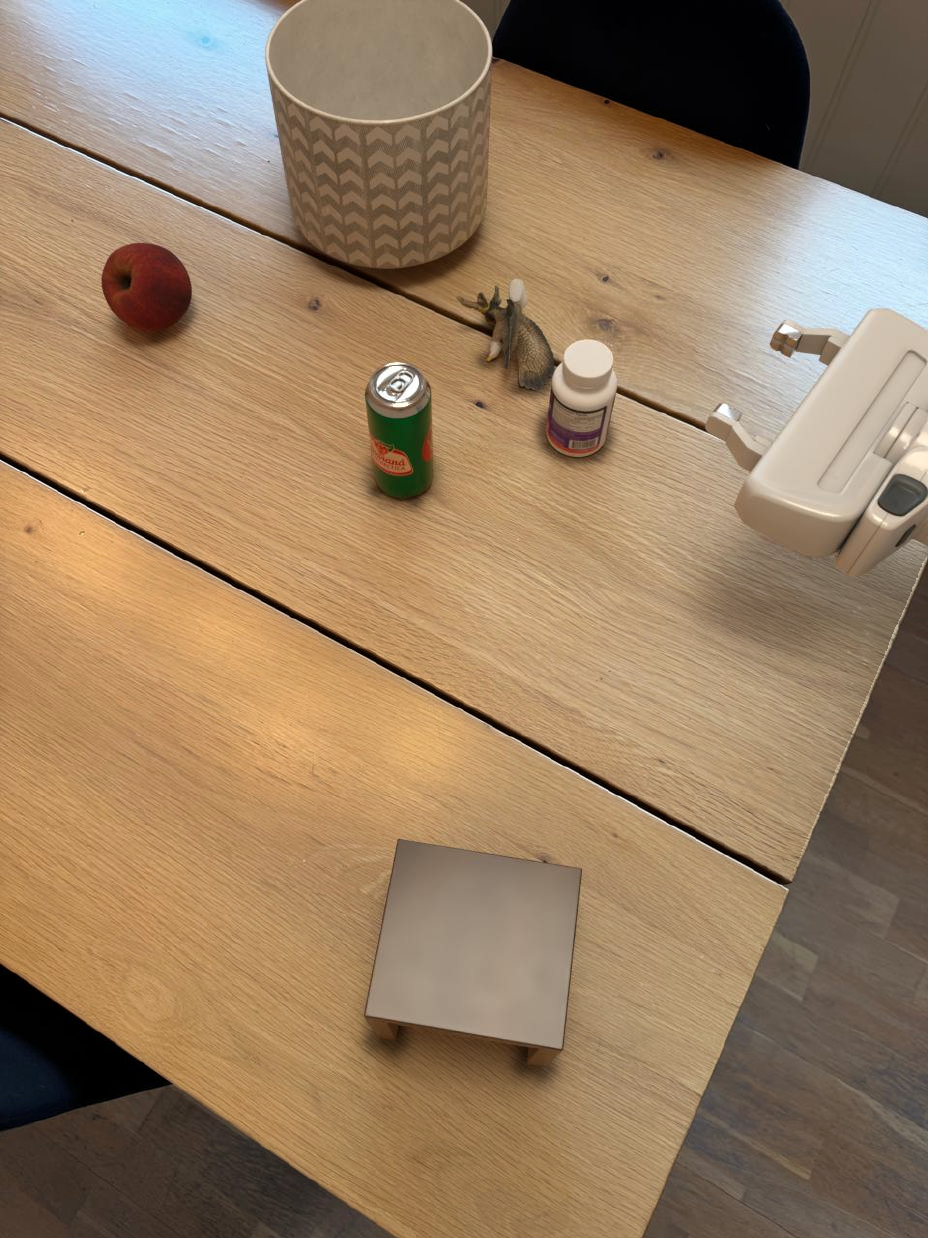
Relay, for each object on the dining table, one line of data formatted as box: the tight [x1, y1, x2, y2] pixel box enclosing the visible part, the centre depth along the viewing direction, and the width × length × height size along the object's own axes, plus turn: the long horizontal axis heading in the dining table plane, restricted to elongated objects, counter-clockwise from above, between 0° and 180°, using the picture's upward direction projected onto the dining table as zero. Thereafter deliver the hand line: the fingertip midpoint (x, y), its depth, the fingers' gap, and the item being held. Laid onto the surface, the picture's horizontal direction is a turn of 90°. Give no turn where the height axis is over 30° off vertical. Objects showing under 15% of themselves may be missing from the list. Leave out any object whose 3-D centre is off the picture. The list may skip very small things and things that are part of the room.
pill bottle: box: [545, 339, 618, 458], centre depth 85 cm, size 5×5×10 cm
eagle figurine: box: [456, 278, 555, 391], centre depth 91 cm, size 8×7×9 cm
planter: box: [264, 0, 493, 270], centre depth 93 cm, size 19×19×18 cm
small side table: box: [363, 838, 583, 1067], centre depth 63 cm, size 11×10×12 cm
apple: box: [101, 242, 193, 333], centre depth 91 cm, size 7×8×8 cm
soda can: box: [364, 361, 435, 499], centre depth 82 cm, size 5×5×12 cm
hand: (744, 372), depth 72 cm, fingers open, 8 cm apart
